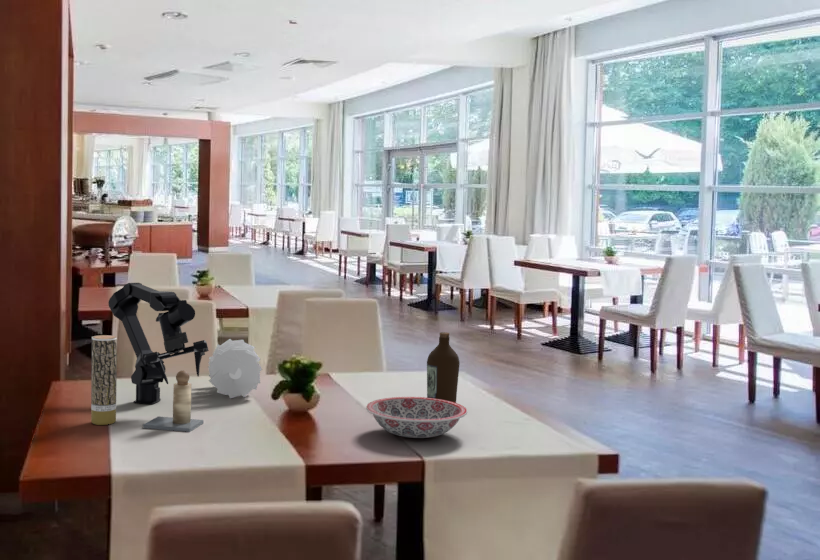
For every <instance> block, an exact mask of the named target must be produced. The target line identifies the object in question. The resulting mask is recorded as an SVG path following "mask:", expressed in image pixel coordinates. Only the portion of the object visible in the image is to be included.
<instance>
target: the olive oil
mask: <svg viewBox="0 0 820 560" xmlns="http://www.w3.org/2000/svg"><path fill="white" fill-rule="evenodd" d="M459 372H460V358H459V355H458V353H456V351H455V350H454V349H453V347H452V346H451V345H450V332H445V331H442V332H439V337H438V345H437V346H436V347H434V349H432V350H431V352H430V353H429V354H428V357H427V359H426V398H435V399H441V400H447V401H451V402H454V403H457V397H458V396H457V394H458V393H457V392H458V385H459V384H458V383H459Z"/></svg>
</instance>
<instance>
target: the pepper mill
mask: <svg viewBox="0 0 820 560" xmlns="http://www.w3.org/2000/svg"><path fill="white" fill-rule="evenodd" d="M175 380H176V383H173V388H172V389H173V390H172V393H173V394H172V396H173V397H172V399H173V400H172V418H173V423H176V424H187V423H190V421H191V419H192V417H191V414H192V383H190V381H189V380H190V374H189V372H188V371H187V370H180V371H178V372H177V373H176V374H175Z"/></svg>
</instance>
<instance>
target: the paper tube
mask: <svg viewBox="0 0 820 560" xmlns="http://www.w3.org/2000/svg"><path fill="white" fill-rule="evenodd" d="M117 348H118V338H117V336H116V335H112V334H111V335H107V334H102V335H101V334H100V335H94V336H91V377H90V378H91V382H90V383H91V388H90V389H91V392H90V393H91V396H90V397H91V402H90V403H91V406H90V409H91V410H90V411H91V413H90V414H91V415H90V417H91V418H90V423H92V425H97V426H106V425H107V426H108V424H109V425H112V424H114V423H115V422H116V421H117V377H118V376H117V369H118V368H117V367H118V366H117V362H118V361H117V360H118V359H117V357H118V355H117V354H118V353H117V352H118V349H117Z"/></svg>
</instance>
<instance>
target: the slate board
mask: <svg viewBox="0 0 820 560" xmlns="http://www.w3.org/2000/svg"><path fill="white" fill-rule="evenodd" d="M203 424H204V419H196V418H195V419H193V418H191V421H190V423H187V424H176V423H173V416H172V417H168V416H160V415H159V416H156V417H155V418H153V419H151V420H149V421H147V422H145V423H143V424H142V428H143V427H144V428H143V429H149V428H151V429H152V430H161V431H162V430H163V431H164V430H165V431H173V430H174V432H175V431H177V432H185V431H186V433H188V432H189V433H190V432H192V431H194V430H195V429H196V428H198V427H200V426H201V425H203Z"/></svg>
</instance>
